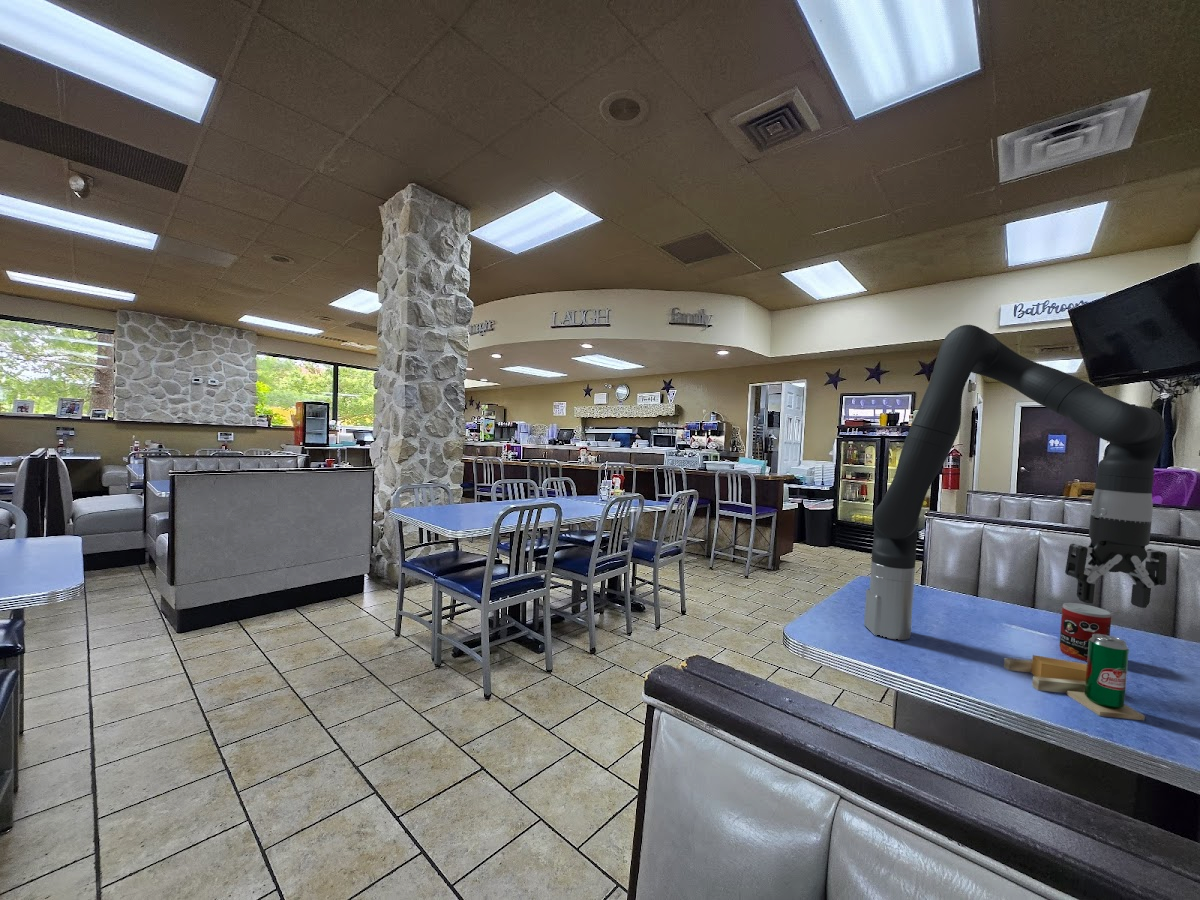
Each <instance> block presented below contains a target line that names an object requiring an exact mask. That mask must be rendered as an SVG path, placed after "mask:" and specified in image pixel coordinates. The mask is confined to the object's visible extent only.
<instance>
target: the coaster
mask: <svg viewBox="0 0 1200 900" xmlns="http://www.w3.org/2000/svg"><path fill="white" fill-rule="evenodd" d="M1066 695H1067V696H1068V697H1070V698H1071V699H1073V700H1074V701H1075V702H1077V703H1079V704H1081V705H1082V706H1084V707H1085V708H1087V709H1088V710H1090V711H1091V712H1093V713H1094V714H1095V715H1097V716H1099V717H1108V718H1116V719H1117V718H1118V719H1126V720H1127V719H1128V720H1136V721H1137V720H1138V721H1145V718H1146V717H1145V715H1144V714H1142V713H1141V712H1139V711H1137V710H1136V709H1133V708H1132V707H1130V706H1128V705H1127V704H1125V703H1124V706H1123V707H1122V708H1120V709H1112V708H1107V707H1104V706H1101V705H1098V704H1096V703H1094V702H1092V701H1090V700H1089V699H1088V698H1087V697H1086V696H1085V692H1075V691H1067V693H1066Z"/></svg>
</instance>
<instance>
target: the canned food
mask: <svg viewBox="0 0 1200 900" xmlns="http://www.w3.org/2000/svg"><path fill="white" fill-rule="evenodd" d="M1060 622H1061V623H1060V633H1059V634H1060V635H1059V649H1060V652H1061V653H1062V654H1064V655H1066V656H1068V657H1070V658H1074V659H1075V660H1080V661H1083V662H1087V657H1088V644H1089V639H1090V638H1091V637H1092V634H1104V635H1109V636H1111V628H1112V627H1111V625H1112V613H1111V612H1110V611H1108V610H1106V609H1104V608H1101V607H1097V606H1093V605H1090V604H1089V605H1088V604H1085V603H1079V602H1078V603H1076V602H1064V603H1063V604H1062V608H1061V620H1060Z"/></svg>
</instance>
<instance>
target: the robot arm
mask: <svg viewBox="0 0 1200 900" xmlns="http://www.w3.org/2000/svg"><path fill="white" fill-rule="evenodd" d="M938 350H939V351H938V352H937V357H936V360H935V362H934V363H935V364H934V366H933V370H932V373H931V376H930V380H929V383H928V386H927V389H926V390H925V392H924V395H923V397H922V399H921V402H920V405H919V408H918V410H917V412H916V415H915V417H914V419H913V420H912V423H911V425H910V427H909V430H908V432H907V434H906V436H905V439H904V443H903V445H902V447H901V448H902V449H901V451H900V454H899V458H898V461H897V466H896V469H895V473H894V476H893V478H892V480H891V483H890V484H889V487H888V489H887V490H886V492H885V494H884V495H883V497H882V499H881V501H880V503H879V504H878V505H877V507H876V508H875V510H874V512H873V523H874V525H873V527H874V529H873V539H872V540H873V541H872V549H871V565H870V566H871V567H870V579H869V589H868V588H866V590H865V605H864V623H863V625H865V626H866V627H867V628H868V629H869V630H870V631H871V632H872V633H873V634H875V635H874V636H877V635H880V636H879V637H882V636H883V638H885V637H887V638H886V639H891V640H896V639H898V641H905V640H910V639H911V635H912V618H913V603H914V602H913V601H914V590H915V589H914V588H915V585H914V584H915V575H916V574H915V571H916V561H917V559H916V558H917V543H918V542H917V540H918V529H919V528H918V527H919V518H920V514H921V512H922V508H923V504H924V502H925V498H926V496H927V494H928V491H929V489H930V487H931V485H932V483H933V482H934V480H935V478H936V477H937V476H938V474H939V472H940V471H941V469H942V467H943V465H944V463H945V462H946V459H947V458H948V456H949V455H950V452H951V450H952V448H953V446H954V443H955V441H956V440H957V436H958V434H959V431H960V427H961V422H962V421H961V420H962V401H963V394H964V389H965V387H966V384H967V381H968V379H969V377H970V375H971V373H973V374H976V375H980V376H983V377H986V378H988V379H989V378H990V379H992V380H995V381H997V382H1000V383H1002V384H1004V385H1007V386H1008V387H1010V388H1011V389H1014V390H1016V391H1017V392H1019V393H1021V394H1022V395H1023V396H1025V397H1027V398H1028V399H1030V400H1032V401H1033V402H1036V403H1037V404H1038V405H1041V406H1042V407H1045V408H1046V409H1049V410H1051V411H1053V412H1055V413H1056V414H1059V415H1061V416H1063V417H1065V418H1068V419H1070V420H1071V421H1073V422H1074V423H1075V424H1077V425H1078V426H1080V427H1081V428H1083V429H1084V430H1085V431H1087V432H1088V433H1090V434H1091V435H1094V436H1096V437H1097V438H1099V439H1101V440H1104V441H1106V442H1108V443H1109V444H1108V449H1107V454H1106V457H1104V458H1103V459H1101V460H1100V461H1099V462H1098V464H1097V468H1096V475H1095V484H1094V485H1095V486H1094V492H1093V495H1092V499H1091V507H1090V508H1091V509H1090V517H1089V527H1088V528H1089V530H1088V537H1089V539H1090V543H1089V545H1088V546H1084V545H1081V544H1077V543H1076V544H1075V543H1071V544H1069V546H1068V553H1067V559H1066V565H1065V571H1064V573H1065V575H1066V576H1069V577H1072V578H1075V579H1076V580H1077V588H1076V596H1077V598H1078V599H1079V600H1078V601H1080V602H1083V603H1084V604H1089V605H1090V604H1091V605H1092V604H1094V598H1095V597H1094V596H1095V588H1096V584H1095V583H1094V582H1096V581H1097V580H1098V578H1099V577H1101V576H1104V575H1105V576H1106V574H1107V573H1108V572H1109V573H1119V572H1120V573H1124V574H1127V575H1128V576H1129V578H1130V579H1131V580H1132V581H1133V584H1132V586H1131V587H1132V588H1131V589H1132V590H1131V597H1130V598H1131V599H1130V603H1131V605H1132V606H1135V607H1138V608H1143V609H1146V608H1147V607H1148V605H1149V604H1150V602H1151V601H1150V600H1151V592H1152V588H1154V587H1156V586H1165V585H1166V584H1167V569H1168V568H1167V565H1168V564H1167V563H1168V555H1167V553H1166V552H1165V551H1160V550H1157V549H1156V550H1155V549H1152V548H1147V549H1146V546H1149V545H1150V540H1151V531H1152V529H1151V528H1152V521H1153V518H1152V517H1153V511H1154V510H1153V507H1154V503H1153V494H1152V493H1153V489H1154V488H1153V487H1154V479H1155V478H1154V476H1155V475H1154V474H1155V472H1154V471H1155V470H1154V469H1155V466H1156V463H1157V461H1158V459H1159V455H1160V454H1161V453H1160V452H1161V449H1162V446H1163V444H1164V439H1165V435H1166V425H1165V424H1166V423H1165V420H1164V418H1163V416H1162V414H1160V412H1158V411H1157V410H1155V409H1153V408H1151V407H1147V406H1142V405H1135V404H1130V403H1128V402H1126V401H1123V400H1121V399H1118V398H1116V397H1114V396H1112V395H1109V394H1107V393H1104V391H1103V390H1102V389H1101V388H1099V387H1098V386H1096V385H1093V384H1092V383H1089V382H1088V381H1086V380H1083V379H1081V378H1078V377H1076V376H1074V375H1072V374H1070V373H1067V372H1064V371H1062V370H1059V369H1057V368H1053V367H1051V366H1048V365H1044V364H1042V363H1038V362H1035V361H1033V360H1031V359H1029V358H1026V357H1024V356H1022V355H1020V354H1019V353H1017V352H1015V351H1014V350H1013V349H1011V348H1010V347H1008V346H1007V345H1006V344H1004V343H1003V342H1001V341H1000V340H998V338H997V337H996V336H995V335H994V334H992V333H990V332H988V331H987V330H985V329H983V328H981V327H979V326H976V325H974V324H963V325H960V326H957V327H956V328H954V329H953V330H951V331H950V332H949V333H948V334H947V335H946V336H945V337H944V339H943V340H942V342H941V344H940V346H939V349H938ZM1087 558H1089V559H1087ZM1144 561H1145V566H1144V565H1143V564H1142V563H1143V562H1144ZM1134 583H1135V584H1134ZM865 626H864V627H865ZM866 627H865V628H866ZM867 628H866V629H867ZM868 629H867V630H868ZM869 630H868V631H869ZM870 631H869V632H870ZM871 632H870V633H871ZM872 633H871V634H872ZM873 634H872V635H873Z"/></svg>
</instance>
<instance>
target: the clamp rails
mask: <svg viewBox="0 0 1200 900" xmlns="http://www.w3.org/2000/svg"><path fill="white" fill-rule="evenodd" d="M1003 668H1005V669H1006V670H1007V671H1011V672H1021V673H1022V672H1023V673H1031V671H1032V659H1022V658H1013V657H1012V658H1009V657H1004V661H1003ZM1085 682H1086V681H1077V680H1066V679H1056V678H1045V677H1035V676H1034V675H1033V676H1032V685H1031V686H1032V687H1033V689H1036V690H1037V691H1041V692H1042V691H1043V692H1053V693H1062V694H1067V691H1075V692H1085Z"/></svg>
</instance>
